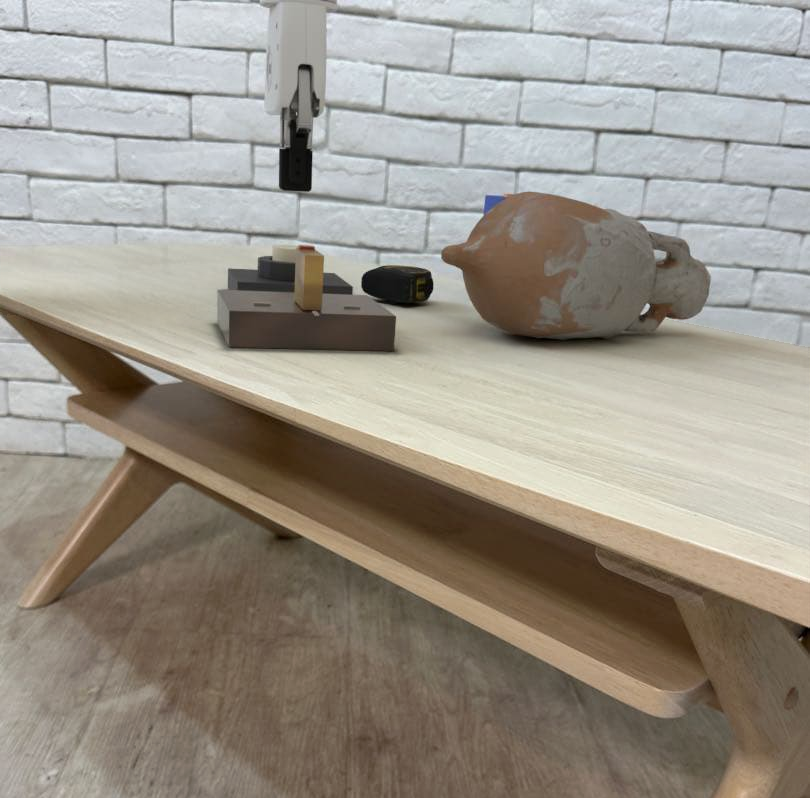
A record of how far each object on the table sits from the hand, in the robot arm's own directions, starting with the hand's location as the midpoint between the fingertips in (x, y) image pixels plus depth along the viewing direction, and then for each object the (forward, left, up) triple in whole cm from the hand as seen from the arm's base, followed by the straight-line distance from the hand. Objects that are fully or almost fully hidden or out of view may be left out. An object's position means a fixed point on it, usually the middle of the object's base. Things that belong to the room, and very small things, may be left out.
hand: (295, 190), depth 104 cm
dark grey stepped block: (0, 0, -11) cm, 11 cm away
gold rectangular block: (-2, -24, -8) cm, 25 cm away
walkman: (+27, +5, -11) cm, 29 cm away
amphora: (+25, -19, -11) cm, 33 cm away
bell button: (0, 0, -8) cm, 8 cm away
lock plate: (-2, -22, -11) cm, 24 cm away
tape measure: (+12, -2, -11) cm, 16 cm away
